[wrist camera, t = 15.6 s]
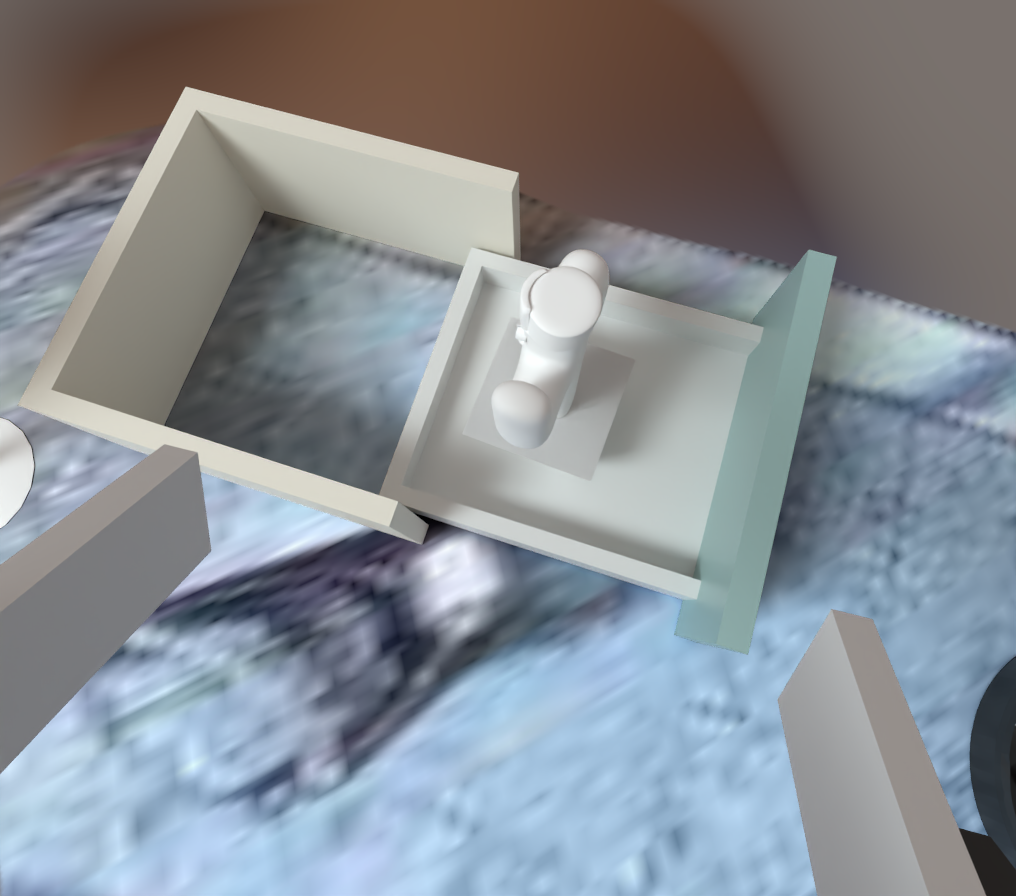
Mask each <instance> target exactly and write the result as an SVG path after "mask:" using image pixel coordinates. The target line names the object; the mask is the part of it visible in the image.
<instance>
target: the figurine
mask: <svg viewBox="0 0 1016 896" xmlns="http://www.w3.org/2000/svg"><path fill="white" fill-rule="evenodd" d="M609 278H610V277H609V269H608V266H607V264H606V262H605V260H604V259H603V258H602V257H601V256H600V255H598V254H597V253H595V252H593V251H590V250H584V249H581V250H575V251H573V252H571V253H569V254H568V255H567V256H566V257H565V258H564V259H563V261H562V262H561V264H560V265H559V267H555V268H552V269H550V270H547V269H545V268H540V269H538V270H536V271H535V272H533V273H532V274H531V275H530V276H529V277H528V278H527V279H526V281H525V282H524V284H523V286H522V289H521V294H520V320H519V319H516V318H513V317H511V319H510V321H509V324H508V326H507V328H506V331H505V333H504V335H503V338H502V340H501V343H500V345H499V347H498V350H497V352H496V354H495V357H494V359H493V362H492V364H491V366H490V369H489V371H488V373H487V376H486V378H485V381H484V383H483V385H482V388H481V390H480V392H479V395H478V397H477V400H476V402H475V404H474V407H473V409H472V411H471V414H470V416H469V419H468V421H467V423H466V426H465V428H464V430H463V433H462V434H463V435H466V436H469V437H471V438H474V439H477V440H480V441H482V442H485V443H488V444H490V445H493V446H496V447H498V448H501V449H504V450H506V451H509V452H512V453H514V454H517V455H520V456H522V457H525V458H528V459H531V460H533V461H536V462H539V463H541V464H544V465H547V466H549V467H552V468H555V469H557V470H560V471H563V472H565V473H568V474H571V475H573V476H576V477H579V478H581V479H584V480H587V481H590V482H591V480H592V477H593V474H594V471H595V469H596V466H597V463H598V461H599V458H600V455H601V452H602V450H603V447H604V444H605V441H606V439H607V436H608V433H609V430H610V428H611V425H612V422H613V419H614V417H615V414H616V411H617V409H618V406H619V403H620V400H621V398H622V395H623V392H624V389H625V387H626V384H627V381H628V378H629V376H630V373H631V370H632V368H633V365H634V362H635V359H632V358H629V357H626V356H623V355H620V354H617V353H615V352H612V351H609V350H606V349H603V348H600V347H597V346H594V345H591V344H589V343H588V339H589V336H590V334H591V332H592V330H593V328H594V326H595V324H596V322H597V320H598V318H599V316H600V315H601V312H602V308H603V305H604V301H605V298H606V294H607V291H608V287H609Z"/></svg>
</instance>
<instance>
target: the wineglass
mask: <svg viewBox="0 0 1016 896" xmlns="http://www.w3.org/2000/svg"><path fill="white" fill-rule="evenodd" d="M33 471H34V461H33V455H32V448H31V446H30V444H29V442H28V441H27V439H26V437H25V435H24V433H23V432H22V431H21V430H20V429H19V428H17V427H16V426H15V425H14V424H12V423H11V422H10V421H9V420H6V419H3V418H0V528H1V527H3V526H4V525H6V524H7V523H8V521H9V520H10V519H11V518H12V517H13V516H14V515H15V513H16V512H17V511H18V510H19V509H20V508H21V506H22V504H23V502H24V500H25V498H26V496H27V494H28V492H29V490H30V488H31V483H32V477H33Z"/></svg>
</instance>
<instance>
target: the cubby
mask: <svg viewBox="0 0 1016 896" xmlns="http://www.w3.org/2000/svg"><path fill="white" fill-rule="evenodd" d="M264 211H267V212H271V213H274V214H278V215H281V216H285V217H289V218H292V219H296V220H299V221H303V222H307V223H310V224H314V225H317V226H321V227H325V228H328V229H332V230H336V231H339V232H343V233H346V234H350V235H354V236H357V237H361V238H364V239H368V240H372V241H375V242H379V243H382V244H386V245H390V246H393V247H397V248H401V249H404V250H408V251H411V252H415V253H419V254H422V255H426V256H429V257H433V258H437V259H440V260H444V261H447V262H451V263H455V264H458V265H462V266H465V263H466V261H467V258H468V255H469V253H470V250H471V247H472V248H476V249H479V250H483V251H487V252H490V253H494V254H498V255H501V256H505V257H509V258H512V259H516V260H520V261H521V249H520V203H519V173H517V172H514V171H510V170H506V169H502V168H498V167H495V166H490V165H487V164H483V163H479V162H475V161H471V160H467V159H464V158H460V157H456V156H452V155H448V154H444V153H440V152H436V151H432V150H429V149H424V148H420V147H417V146H413V145H409V144H405V143H402V142H397V141H394V140H390V139H386V138H382V137H378V136H374V135H371V134H367V133H363V132H358V131H355V130H351V129H347V128H343V127H340V126H336V125H332V124H327V123H324V122H320V121H316V120H312V119H308V118H304V117H301V116H297V115H293V114H289V113H285V112H281V111H277V110H274V109H270V108H266V107H262V106H258V105H254V104H250V103H247V102H243V101H239V100H235V99H231V98H227V97H223V96H219V95H215V94H212V93H207V92H204V91H200V90H196V89H192V88H188V87H186V88H185V89H184V91H183V93H182V95H181V97H180V99H179V101H178V102H177V104H176V106H175V108H174V110H173V112H172V114H171V116H170V118H169V120H168V121H167V123H166V125H165V127H164V129H163V131H162V133H161V135H160V137H159V138H158V140H157V142H156V144H155V146H154V148H153V150H152V152H151V154H150V155H149V157H148V159H147V161H146V163H145V165H144V167H143V169H142V171H141V172H140V174H139V176H138V178H137V180H136V182H135V184H134V186H133V188H132V190H131V191H130V193H129V195H128V197H127V199H126V201H125V203H124V205H123V207H122V208H121V210H120V212H119V214H118V216H117V218H116V220H115V222H114V224H113V225H112V227H111V229H110V231H109V233H108V235H107V237H106V239H105V241H104V243H103V244H102V246H101V248H100V250H99V252H98V254H97V256H96V258H95V260H94V261H93V263H92V265H91V267H90V269H89V271H88V273H87V275H86V277H85V278H84V280H83V282H82V284H81V286H80V288H79V290H78V292H77V294H76V296H75V297H74V299H73V301H72V303H71V305H70V307H69V309H68V311H67V313H66V314H65V316H64V318H63V320H62V322H61V324H60V326H59V328H58V330H57V331H56V333H55V335H54V337H53V339H52V341H51V343H50V345H49V347H48V349H47V350H46V352H45V354H44V356H43V358H42V360H41V362H40V364H39V366H38V367H37V369H36V371H35V373H34V375H33V377H32V379H31V381H30V383H29V384H28V386H27V388H26V390H25V392H24V394H23V396H22V398H21V400H20V402H19V403H18V405H19V406H21V407H24V408H26V409H29V410H31V411H34V412H37V413H39V414H42V415H44V416H47V417H50V418H52V419H55V420H57V421H60V422H62V423H65V424H68V425H70V426H73V427H75V428H78V429H81V430H83V431H86V432H88V433H91V434H94V435H96V436H99V437H101V438H104V439H106V440H109V441H112V442H114V443H117V444H119V445H122V446H125V447H127V448H130V449H132V450H135V451H138V452H141V453H144V454H147V455H150V454H152V453H153V452H154V451H156V450H157V449H159V448H160V447H161V446H163V445H164V444H166V445H170V446H174V447H178V448H182V449H186V450H190V451H194V452H198V457H199V465H200V472H202V473H205V474H208V475H211V476H214V477H218V478H221V479H224V480H227V481H230V482H233V483H236V484H239V485H242V486H245V487H248V488H251V489H254V490H257V491H260V492H263V493H266V494H269V495H272V496H275V497H278V498H281V499H285V500H288V501H291V502H294V503H297V504H300V505H303V506H306V507H309V508H312V509H315V510H318V511H321V512H324V513H327V514H330V515H333V516H336V517H339V518H342V519H345V520H348V521H352V522H355V523H358V524H361V525H364V526H367V527H370V528H373V529H376V530H379V531H382V532H385V533H388V534H391V535H394V536H397V537H400V538H403V539H406V540H409V541H412V542H415V543H419V544H423V541H424V538H425V535H426V532H427V529H428V527H429V525H428V524H427V523H425V522H424V521H423V520H422V519H420V518H419V517H418V516H416V515H415V514H414V513H413V512H411V511H410V510H409V509H407V508H406V507H405V506H404V505H402V504H401V503H400V502H398V501H395V500H392V499H389V498H386V497H383V496H380V495H377V494H374V493H371V492H367V491H364V490H361V489H358V488H355V487H352V486H349V485H346V484H343V483H340V482H336V481H333V480H330V479H327V478H324V477H321V476H318V475H315V474H312V473H308V472H305V471H302V470H299V469H296V468H293V467H290V466H287V465H284V464H281V463H277V462H274V461H271V460H268V459H265V458H262V457H259V456H256V455H253V454H249V453H246V452H243V451H240V450H237V449H234V448H231V447H228V446H225V445H222V444H218V443H215V442H212V441H209V440H206V439H203V438H200V437H197V436H194V435H190V434H187V433H184V432H181V431H178V430H175V429H172V428H169V427H166V426H164V424H165V422H166V420H167V418H168V416H169V414H170V412H171V410H172V407H173V405H174V403H175V401H176V399H177V397H178V395H179V392H180V390H181V388H182V386H183V384H184V382H185V380H186V377H187V375H188V373H189V371H190V369H191V367H192V365H193V363H194V360H195V358H196V356H197V354H198V352H199V350H200V348H201V345H202V343H203V341H204V339H205V337H206V335H207V333H208V330H209V328H210V326H211V324H212V322H213V320H214V318H215V315H216V313H217V311H218V309H219V307H220V305H221V303H222V301H223V298H224V296H225V294H226V292H227V290H228V288H229V286H230V283H231V281H232V279H233V277H234V275H235V273H236V271H237V268H238V266H239V264H240V262H241V260H242V258H243V256H244V253H245V251H246V249H247V247H248V245H249V243H250V241H251V239H252V236H253V234H254V232H255V230H256V228H257V226H258V224H259V221H260V219H261V217H262V215H263V213H264Z"/></svg>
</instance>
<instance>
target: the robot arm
mask: <svg viewBox="0 0 1016 896" xmlns="http://www.w3.org/2000/svg"><path fill="white" fill-rule="evenodd" d="M210 552H211V545H210V538H209V530H208V523H207V516H206V508H205V501H204V494H203V487H202V479H201V472H200V465H199V457H198V452H194V451H190V450H186V449H182V448H178V447H174V446H170V445H166V444H164V445H163V446H161V447H160V448H159V449H157V450H156V451H154V452H153V453H152V454H150V455H149V456H148V457H146V458H145V459H144V460H142V461H141V462H140V463H138V464H137V465H135V466H134V467H133V468H131V469H130V470H129V471H127V472H126V473H125V474H123V475H122V476H121V477H119V478H118V479H116V480H115V481H114V482H112V483H111V484H110V485H108V486H107V487H106V488H104V489H103V490H102V491H100V492H99V493H97V494H96V495H95V496H93V497H92V498H91V499H89V500H88V501H87V502H85V503H84V504H83V505H81V506H80V507H78V508H77V509H76V510H74V511H73V512H72V513H70V514H69V515H68V516H66V517H65V518H64V519H62V520H61V521H59V522H58V523H57V524H55V525H54V526H53V527H51V528H50V529H49V530H47V531H46V532H45V533H43V534H42V535H40V536H39V537H38V538H36V539H35V540H34V541H32V542H31V543H30V544H28V545H27V546H26V547H24V548H23V549H21V550H20V551H19V552H17V553H16V554H15V555H13V556H12V557H11V558H9V559H8V560H7V561H5V562H4V563H2V564H1V565H0V774H1V773H2V772H3V770H4V769H5V768H6V767H7V766H8V765H9V764H10V763H11V762H12V761H13V760H14V759H15V758H16V757H17V756H18V755H19V754H20V752H21V751H22V750H23V749H24V748H25V747H26V746H27V745H28V744H29V743H30V742H31V741H32V740H33V739H34V738H35V737H36V736H37V735H38V733H39V732H40V731H41V730H42V729H43V728H44V727H45V726H46V725H47V724H48V723H49V722H50V721H51V720H52V719H53V718H54V717H55V715H56V714H57V713H58V712H59V711H60V710H61V709H62V708H63V707H64V706H65V705H66V704H67V703H68V702H69V701H70V700H71V699H72V698H73V696H74V695H75V694H76V693H77V692H78V691H79V690H80V689H81V688H82V687H83V686H84V685H85V684H86V683H87V682H88V681H89V680H90V678H91V677H92V676H93V675H94V674H95V673H96V672H97V671H98V670H99V669H100V668H101V667H102V666H103V665H104V664H105V663H106V662H107V661H108V659H109V658H110V657H111V656H112V655H113V654H114V653H115V652H116V651H117V650H118V649H119V648H120V647H121V646H122V645H123V644H124V643H125V641H126V640H127V639H128V638H129V637H130V636H131V635H132V634H133V633H134V632H135V631H136V630H137V629H138V628H139V627H140V626H141V625H142V624H143V622H144V621H145V620H146V619H147V618H148V617H149V616H150V615H151V614H152V613H153V612H154V611H155V610H156V609H157V608H158V607H159V606H160V604H161V603H162V602H163V601H164V600H165V599H166V598H167V597H168V596H169V595H170V594H171V593H172V592H173V591H174V590H175V589H176V588H177V587H178V585H179V584H180V583H181V582H182V581H183V580H184V579H185V578H186V577H187V576H188V575H189V574H190V573H191V572H192V571H193V570H194V569H195V567H196V566H197V565H198V564H199V563H200V562H201V561H202V560H203V559H204V558H205V557H206V556H207V555H208V554H209V553H210ZM778 704H779V709H780V714H781V719H782V724H783V729H784V734H785V738H786V743H787V748H788V753H789V758H790V763H791V768H792V773H793V778H794V783H795V788H796V793H797V798H798V802H799V807H800V812H801V817H802V822H803V827H804V832H805V837H806V842H807V847H808V852H809V857H810V862H811V866H812V871H813V876H814V881H815V886H816V891H817V896H1016V657H1015V658H1014V659H1013V660H1011V661H1010V662H1009V663H1008V664H1007V665H1006V666H1005V667H1004V668H1003V669H1002V670H1001V671H1000V672H999V673H998V675H997V676H996V677H995V678H994V680H993V681H992V682H991V684H990V686H989V687H988V689H987V691H986V692H985V694H984V696H983V698H982V700H981V702H980V705H979V708H978V710H977V713H976V717H975V720H974V724H973V729H972V734H971V742H970V772H971V781H972V787H973V792H974V796H975V801H976V804H977V808H978V811H979V814H980V817H981V820H982V822H983V825H984V827H985V830H986V832H987V834H988V836H986V835H982V834H978V833H975V832H971V831H967V830H964V829H960V828H958V826H957V824H956V821H955V819H954V816H953V814H952V811H951V809H950V806H949V804H948V802H947V799H946V797H945V794H944V792H943V789H942V787H941V785H940V782H939V780H938V777H937V775H936V772H935V770H934V768H933V765H932V763H931V760H930V758H929V755H928V753H927V751H926V748H925V746H924V743H923V741H922V738H921V736H920V733H919V731H918V729H917V726H916V724H915V721H914V719H913V716H912V714H911V712H910V709H909V707H908V704H907V702H906V699H905V697H904V695H903V692H902V690H901V687H900V685H899V682H898V680H897V678H896V675H895V673H894V670H893V668H892V665H891V663H890V660H889V658H888V656H887V653H886V651H885V648H884V646H883V643H882V641H881V639H880V636H879V634H878V631H877V629H876V626H875V624H874V622H873V619H869V618H865V617H861V616H857V615H853V614H849V613H845V612H841V611H837V610H833V609H831V611H830V613H829V614H828V616H827V618H826V619H825V621H824V623H823V624H822V626H821V628H820V629H819V631H818V633H817V634H816V636H815V638H814V639H813V641H812V643H811V644H810V646H809V648H808V649H807V651H806V653H805V654H804V656H803V658H802V660H801V661H800V663H799V665H798V666H797V668H796V670H795V671H794V673H793V675H792V676H791V678H790V680H789V681H788V683H787V685H786V686H785V688H784V690H783V691H782V693H781V695H780V696H779V698H778Z"/></svg>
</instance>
